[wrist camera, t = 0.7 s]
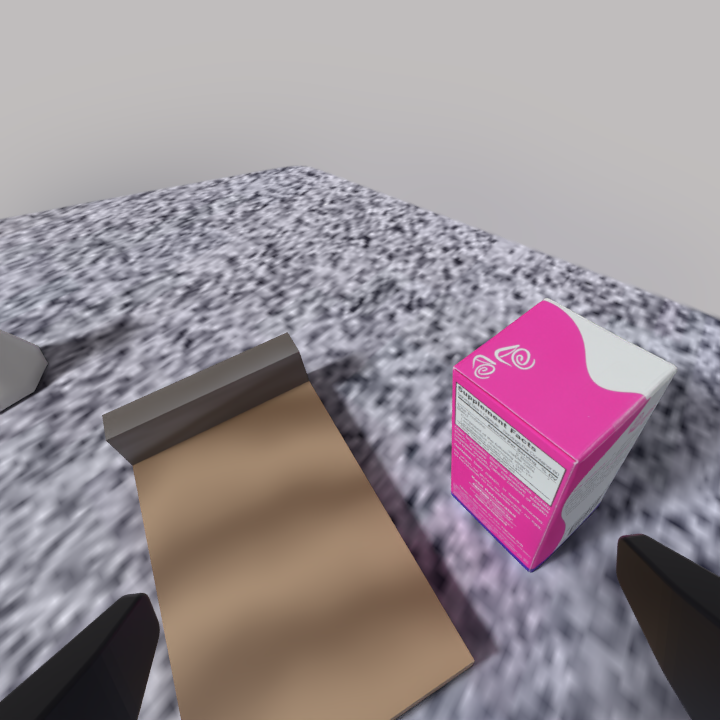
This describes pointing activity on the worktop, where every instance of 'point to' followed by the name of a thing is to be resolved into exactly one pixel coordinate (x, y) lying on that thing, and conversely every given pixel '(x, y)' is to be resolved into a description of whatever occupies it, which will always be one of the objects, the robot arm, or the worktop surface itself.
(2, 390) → the flask
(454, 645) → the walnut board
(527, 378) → the supplement box
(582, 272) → the worktop surface
